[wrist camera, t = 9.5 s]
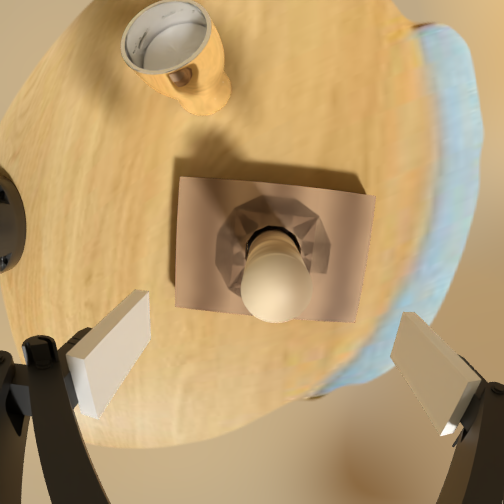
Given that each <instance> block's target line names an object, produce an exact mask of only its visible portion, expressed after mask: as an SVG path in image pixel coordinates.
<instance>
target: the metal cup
mask: <svg viewBox="0 0 504 504" xmlns="http://www.w3.org/2000/svg"><path fill="white" fill-rule="evenodd" d="M121 54H122V57H123V59H124V61H125V63H126V64H127V65H128V66H129V67H130V68H131V69H133V71H134V72H135V73H136V74H137V75H138V76H139V77H140V78H141V79H142V80H143V81H144V82H145V83H146V84H147V85H148V86H150V87H151V88H152V89H154V90H155V91H157V92H159V93H160V94H163V95H165V96H167V97H170V98H173V99H176V100H179V103H180V104H181V106H182V107H183V108H184V109H185V110H186V111H187V112H189V113H191V114H194V115H198V116H206V115H211V114H213V113H216V112H217V111H219V110H220V109H222V108H223V107H224V106H225V105H226V103H227V102H228V100H229V98H230V95H231V83H230V80H229V78H228V76H227V75H226V74H225V73H224V64H225V57H224V49H223V45H222V41H221V38H220V36H219V33H218V31H217V29H216V27H215V25H214V24H213V22H212V20H211V18H210V15H209V13H208V12H207V10H206V9H205V8H204V7H203V6H202V5H200V4H199V3H197V2H195V1H192V0H162V1H159V2H156V3H154V4H151V5H149V6H148V7H146V8H144V9H143V10H142V11H140V12H139V13H138V14H137V15H136V16H135V17H134V18H133V19H132V20H131V21H130V22H129V24H128V25H127V27H126V29H125V31H124V33H123V36H122V39H121Z"/></svg>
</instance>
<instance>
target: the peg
mask: <svg viewBox="0 0 504 504" xmlns="http://www.w3.org/2000/svg"><path fill="white" fill-rule="evenodd" d="M312 291H313V286H312V280H311V277H310V275H309V272H308V270H307V268H306V266H305V264H304V262H303V260H302V258H301V256H300V253H299V251H298V249H297V247H296V245H295V243H294V241H293V240H292V239H291V238H290V237H289V236H288V235H286V234H285V233H284V232H283V231H281V230H279V229H275V228H270V229H266V230H263V231H262V232H260V233H259V234H258V235H257V237H256V238H255V239H254V240H253V242H252V244H251V246H250V249H249V253H248V257H247V261H246V265H245V270H244V274H243V278H242V282H241V297H242V300H243V303H244V305H245V306H246V308H247V309H248V311H249V312H250V313H251V314H252V315H254V316H255V317H257V318H258V319H260V320H263V321H266V322H270V323H282V322H287V321H289V320H292V319H294V318H296V317H297V316H299V315H300V314H301V313H302V312H303V311H304V310H305V309H306V307H307V306H308V304H309V302H310V300H311V297H312Z"/></svg>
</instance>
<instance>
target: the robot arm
mask: <svg viewBox="0 0 504 504" xmlns="http://www.w3.org/2000/svg"><path fill="white" fill-rule="evenodd" d="M25 238H26V221H25V213H24V208H23V204H22V201H21V198H20V196H19V193H18V191H17V189H16V188H15V186H14V185H13V183H12V182H11V181H10V180H9V179H7V178H6V177H4V176H1V175H0V273H3V272H5V271H8V270H10V269H12V268H13V267H14V266H15V265H16V264H17V263H18V262H19V260H20V258H21V256H22V253H23V250H24V245H25ZM150 340H151V331H150V309H149V291H143V290H136V289H135V290H134V291H133V292H132V293H131V294H129V295H128V296H127V297H126V298H125V299H124V300H123V301H122V302H121V303H120V304H118V305H117V306H116V307H115V308H114V309H113V310H112V311H111V312H110V313H109V314H108V315H107V316H105V317H104V318H103V319H102V320H101V321H100V322H99V323H98V324H97V325H96V326H95V327H94V328H89V327H87V328H85V329H83V330H80V331H78V332H77V333H76V334H75V335H74V336H73V337H72V338H71V339H69V340H68V341H67V343H65V344H64V345H63V346H62V347H61V348H60V349H59V350H57V347H56V343H55V341H54V339H53V338H51V337H49V336H45V335H37V336H33V337H30V338H28V339H26V340H25V341H24V342H23V344H22V350H23V353H24V357H25V361H26V364H27V365H23V364H15V363H14V362H13V358H12V356H11V354H10V353H9V352H6V351H0V504H21V489H22V474H23V463H24V453H25V446H26V439H27V431H28V425H29V420H30V416H32V419H33V425H34V432H35V437H36V443H37V448H38V453H39V457H40V462H41V466H42V470H43V474H44V478H45V482H46V485H47V489H48V492H49V496H50V499H51V502H52V504H111V503H110V501H109V499H108V497H107V495H106V493H105V491H104V489H103V486H102V485H101V482H100V480H99V478H98V475H97V473H96V471H95V468H94V466H93V463H92V461H91V458H90V456H89V453H88V451H87V448H86V446H85V443H84V440H83V437H82V434H81V432H80V429H79V426H78V423H77V419H76V416H75V413H74V410H73V409H74V408H75V406H76V405H77V404H78V405H79V408H80V411H81V414H83V415H86V416H89V417H92V418H95V419H98V420H99V418H100V416H101V415H102V413H103V412H104V410H105V408H106V407H107V405H108V404H109V402H110V401H111V399H112V398H113V396H114V394H115V393H116V391H117V390H118V388H119V387H120V385H121V384H122V382H123V381H124V379H125V377H126V376H127V374H128V373H129V371H130V370H131V368H132V367H133V365H134V364H135V362H136V361H137V359H138V358H139V356H140V355H141V353H142V352H143V350H144V349H145V347H146V346H147V344H148V343H149V341H150ZM390 357H391V359H392V360H393V362H394V363H395V365H396V367H397V368H398V370H399V371H400V373H401V374H402V376H403V377H404V379H405V380H406V382H407V384H408V385H409V387H410V388H411V390H412V391H413V393H414V394H415V396H416V398H417V399H418V401H419V403H420V404H421V406H422V407H423V409H424V411H425V412H426V414H427V415H428V417H429V419H430V420H431V422H432V424H433V425H434V427H435V429H436V430H437V432H438V434H439V435H440V436H442V435H446V434H451V433H454V431H455V430H456V428H457V426H458V424H459V423H460V422H461V424H462V425H463V426H464V428H463V429H462V431H461V433H460V434H459V436H458V438H457V439H456V441H455V442H454V444H453V445H452V447H454V446H455V445H456V444H457V446H456V449H455V452H454V456H453V459H452V462H451V465H450V468H449V471H448V474H447V477H446V479H445V482H444V485H443V487H442V490H441V493H440V495H439V498H438V500H437V502H436V504H502V500H503V504H504V385H503V384H500V383H497V382H489V383H488V382H486V380H485V379H484V378H483V377H482V376H481V375H480V374H479V373H478V372H477V371H476V370H474V368H473V367H472V366H471V365H470V364H469V363H468V362H467V361H466V359H465V358H463V357H461V356H460V355H458V354H456V352H455V351H454V350H453V349H452V348H451V347H450V346H448V345H447V344H446V342H445V341H444V340H442V338H441V337H440V336H439V335H438V334H436V333H435V332H434V331H433V330H432V329H431V328H430V327H429V326H428V325H427V324H426V323H425V322H424V321H423V320H422V319H421V318H420V317H419V316H418V315H417V314H416V313H415V312H403V314H402V317H401V321H400V325H399V329H398V332H397V336H396V339H395V342H394V346H393V349H392V352H391V355H390Z"/></svg>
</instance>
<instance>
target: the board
mask: <svg viewBox="0 0 504 504" xmlns="http://www.w3.org/2000/svg"><path fill="white" fill-rule="evenodd" d="M375 200H376V196H372V195H365V194H358V193H351V192H344V191H337V190H329V189H321V188H313V187H304V186H295V185H286V184H276V183H265V182H254V181H242V180H229V179H214V178H197V177H180V182H179V197H178V215H177V237H176V272H175V307H180V308H188V309H196V310H205V311H213V312H222V313H231V314H241V315H251V316H254V315H252V314H251V313H250V312H249V311H248V309H247V308H246V306H245V305H244V303H243V300H242V297H241V282H242V278H243V274H244V270H245V265H246V261H247V257H248V254H247V252H246V251H247V241H248V240H249V242H248V253H249V249H250V246H251V244H252V242H253V240H254V239H255V238H256V237H257V235H258V234H259V233H260V232H262V231H263V230H266V229H270V228H275V229H279V230H281V231H283V232H284V233H285V234H286V235H288V236H289V237H290V238H291V239H292V240H293V241H294V243H295V245H296V247H297V243H296V240H295V237H296V239H297V241H298V251H299V253H300V256H301V258H302V260H303V262H304V264H305V266H306V268H307V270H308V272H309V275H310V277H311V280H312V286H313V291H312V297H311V300H310V302H309V304H308V306H307V307H306V309H305V310H304V311H303V312H302V313H301V314H300V315H299V316H297V317H296V318H294V319H299V320H314V321H331V322H350V323H355V319H356V315H357V310H358V306H359V301H360V296H361V291H362V286H363V280H364V275H365V269H366V263H367V257H368V251H369V245H370V238H371V231H372V224H373V217H374V209H375ZM292 233H293V234H294V235H295V237H294V235H293V234H292Z"/></svg>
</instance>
